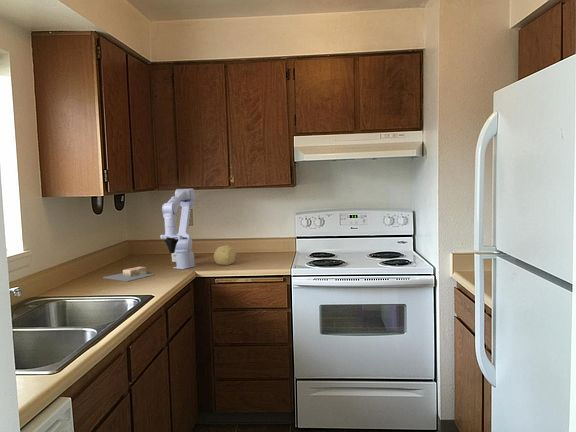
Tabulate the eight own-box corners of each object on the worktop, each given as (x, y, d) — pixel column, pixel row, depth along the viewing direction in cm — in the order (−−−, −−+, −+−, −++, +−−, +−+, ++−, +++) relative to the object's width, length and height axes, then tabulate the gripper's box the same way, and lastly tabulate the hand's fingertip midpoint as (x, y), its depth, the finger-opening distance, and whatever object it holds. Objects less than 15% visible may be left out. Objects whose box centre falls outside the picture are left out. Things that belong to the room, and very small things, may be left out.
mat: (129, 272, 264) (129, 271, 264) (154, 275, 252) (154, 274, 252) (102, 278, 251) (102, 277, 251) (127, 281, 239) (127, 280, 239)
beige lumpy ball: (230, 266, 268) (229, 246, 267) (210, 266, 272) (209, 246, 271) (239, 262, 279) (238, 243, 278) (220, 262, 283) (219, 243, 282)
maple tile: (139, 266, 260) (122, 269, 252) (146, 267, 257) (130, 270, 249) (139, 272, 260) (123, 275, 252) (146, 273, 257) (130, 276, 249)
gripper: (155, 227, 255) (156, 253, 256) (174, 227, 246) (175, 254, 247) (165, 225, 260) (167, 251, 261) (185, 226, 252) (186, 252, 253)
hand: (172, 253), depth 255 cm, fingers closed
